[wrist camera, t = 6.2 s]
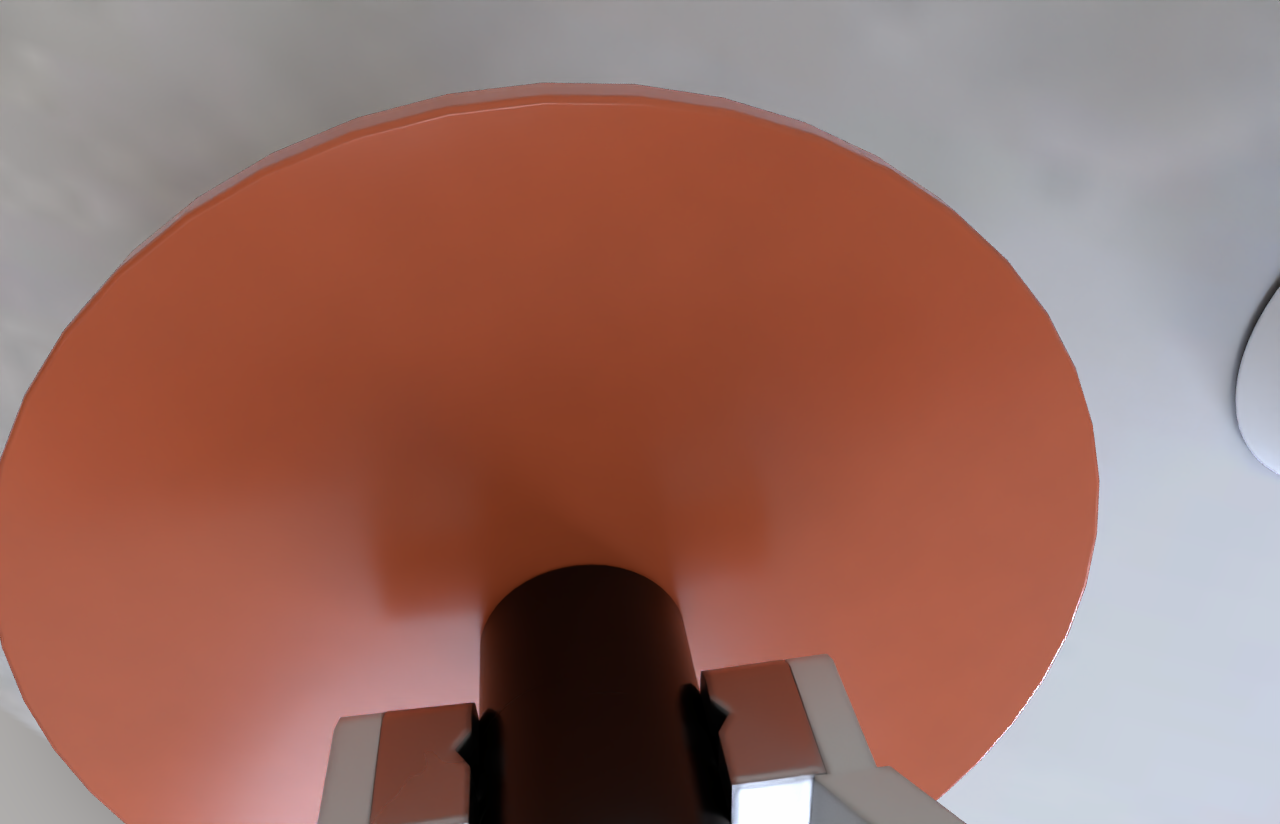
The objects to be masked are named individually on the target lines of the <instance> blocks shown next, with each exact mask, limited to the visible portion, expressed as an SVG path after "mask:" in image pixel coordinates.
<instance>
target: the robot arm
mask: <svg viewBox="0 0 1280 824" xmlns="http://www.w3.org/2000/svg"><path fill="white" fill-rule="evenodd" d="M1235 404H1236V415H1237V421H1238V425H1239V429H1240V432H1241V435H1242V437H1243V439H1244V441H1245V443H1246V445H1247V447H1248V448H1249V450H1250V451H1251V453H1252V454H1253V455H1254V456H1255V457H1256V459H1257V460H1259V461H1260V462H1261V463H1262V464H1263V465H1264V466H1266V467H1267V468H1268V469H1270V470H1271V471H1273V472H1275V473H1277V474H1279V475H1280V287H1279V288H1278V289H1277V291H1276V292H1275V294H1274V295H1273V297H1272V298H1271V300H1270V301H1269V303H1268V304H1267V306H1266V308H1265V309H1264V311H1263V313H1262V314H1261V316H1260V318H1259V320H1258V322H1257V324H1256V326H1255V328H1254V330H1253V332H1252V334H1251V336H1250V339H1249V341H1248V343H1247V346H1246V349H1245V352H1244V354H1243V357H1242V361H1241V364H1240V368H1239V373H1238V378H1237V385H1236V398H1235ZM700 695H701V699H702V703H703V708H704V712H705V716H706V720H707V725H708V729H709V733H710V737H711V741H712V745H713V749H714V753H715V757H716V762H717V766H718V771H719V776H720V780H721V784H722V788H723V792H724V797H725V801H726V805H727V809H728V814H729V818H730V822H731V824H966V823H965V822H963V821H962V820H961V819H959V818H958V817H957V816H955V815H954V814H953V813H951V812H950V811H949V810H947V809H946V808H945V807H944V806H942V805H941V804H940V803H938V802H937V801H936V800H934V799H933V798H932V797H930V796H929V795H928V794H926V793H925V792H924V791H922V790H921V789H920V788H919V787H917V786H916V785H915V784H913V783H912V782H911V781H909V780H908V779H907V778H905V777H904V776H903V775H901V774H900V773H899V772H897V771H896V770H895V769H893V768H892V767H891V766H883V767H877V766H876V763H875V761H874V758H873V756H872V754H871V751H870V749H869V746H868V744H867V741H866V739H865V736H864V734H863V732H862V729H861V727H860V724H859V722H858V719H857V717H856V714H855V712H854V710H853V707H852V705H851V702H850V700H849V697H848V695H847V693H846V690H845V688H844V685H843V683H842V680H841V678H840V675H839V673H838V671H837V668H836V666H835V663H834V661H833V659H832V658H831V657H830V656H829V655H828V654H820V655H813V656H806V657H798V658H791V659H786V660H785V661H784V660H782V659H781V660H774V661H767V662H760V663H753V664H746V665H739V666H732V667H725V668H719V669H712V670H705V671H701V676H700ZM478 770H479V717H478V713H477V708H476V704H475V703H473V702H471V703H461V704H452V705H442V706H433V707H424V708H414V709H405V710H395V711H386V712H383V713H374V714H365V715H356V716H347V717H340V719H339V721H338V723H337V725H336V727H335V729H334V732H333V738H332V743H331V749H330V755H329V760H328V766H327V772H326V777H325V783H324V788H323V794H322V800H321V805H320V811H319V817H318V822H317V824H478V800H477V798H478Z"/></svg>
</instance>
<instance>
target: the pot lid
mask: <svg viewBox="0 0 1280 824" xmlns="http://www.w3.org/2000/svg"><path fill="white" fill-rule="evenodd" d="M1098 499H1099V473H1098V465H1097V457H1096V449H1095V440H1094V432H1093V425H1092V421H1091V417H1090V414H1089V411H1088V407H1087V404H1086V401H1085V398H1084V394H1083V391H1082V388H1081V384H1080V381H1079V378H1078V375H1077V371H1076V368H1075V366H1074V364H1073V362H1072V360H1071V358H1070V356H1069V354H1068V352H1067V350H1066V348H1065V346H1064V344H1063V342H1062V340H1061V339H1060V337H1059V335H1058V333H1057V331H1056V329H1055V327H1054V325H1053V323H1052V321H1051V319H1050V317H1049V315H1048V313H1047V312H1046V310H1045V309H1044V308H1043V306H1042V305H1041V304H1040V303H1039V301H1038V300H1037V299H1036V297H1035V296H1034V295H1033V293H1032V292H1031V291H1030V289H1029V288H1028V287H1027V285H1026V284H1025V283H1024V281H1023V280H1022V279H1021V277H1020V276H1019V275H1018V274H1017V272H1016V271H1015V270H1014V268H1013V267H1012V266H1011V264H1010V263H1009V262H1008V260H1007V259H1005V258H1004V257H1003V256H1002V255H1001V254H1000V253H999V252H998V251H997V250H996V249H995V248H994V247H993V246H992V245H991V244H989V243H988V242H987V241H986V240H985V239H984V238H983V237H982V236H981V235H980V234H979V233H978V232H977V231H976V230H974V229H973V228H972V227H971V226H970V225H969V224H968V223H967V222H966V221H965V220H964V219H963V218H962V217H961V216H959V215H958V214H957V213H956V212H955V211H954V210H953V209H952V208H950V207H949V206H948V205H947V204H946V203H945V202H943V201H942V200H941V199H940V198H939V197H937V196H936V195H934V194H933V193H931V192H930V191H928V190H927V189H925V188H924V187H922V186H921V185H919V184H918V183H916V182H915V181H913V180H912V179H910V178H909V177H907V176H906V175H904V174H903V173H901V172H900V171H898V170H897V169H895V168H894V167H892V166H891V165H890V164H888V163H887V162H885V161H884V160H882V159H881V158H879V157H878V156H876V155H874V154H871V153H869V152H867V151H865V150H863V149H861V148H859V147H857V146H854V145H852V144H850V143H848V142H846V141H844V140H842V139H839V138H837V137H835V136H833V135H831V134H829V133H827V132H824V131H822V130H820V129H818V128H816V127H814V126H812V125H809V124H807V123H805V122H802V121H799V120H796V119H792V118H789V117H786V116H782V115H779V114H776V113H772V112H769V111H766V110H762V109H759V108H756V107H752V106H749V105H746V104H742V103H739V102H736V101H732V100H729V99H726V98H722V97H715V96H709V95H702V94H696V93H689V92H682V91H676V90H669V89H663V88H656V87H650V86H643V85H636V84H591V83H535V84H527V85H519V86H511V87H502V88H494V89H486V90H477V91H469V92H461V93H453V94H446V95H442V96H439V97H435V98H431V99H427V100H423V101H419V102H416V103H412V104H408V105H404V106H400V107H396V108H393V109H389V110H385V111H381V112H377V113H373V114H370V115H366V116H362V117H358V118H355V119H353V120H351V121H348V122H346V123H343V124H341V125H339V126H336V127H334V128H331V129H329V130H327V131H324V132H322V133H319V134H317V135H314V136H312V137H310V138H307V139H305V140H302V141H300V142H298V143H295V144H293V145H290V146H288V147H286V148H283V149H281V150H278V151H276V152H274V153H272V154H270V155H268V156H267V157H265V158H263V159H262V160H260V161H258V162H256V163H255V164H253V165H251V166H250V167H248V168H246V169H245V170H243V171H241V172H240V173H238V174H236V175H235V176H233V177H231V178H230V179H228V180H226V181H225V182H223V183H221V184H220V185H218V186H216V187H215V188H213V189H211V190H210V191H208V192H206V193H205V194H203V195H201V196H199V197H198V198H196V199H195V200H194V201H193V202H191V203H190V204H189V205H188V206H187V207H185V208H184V209H183V210H182V211H181V212H179V213H178V214H177V215H176V216H174V217H173V218H172V219H171V220H170V221H168V222H167V223H166V224H165V225H164V226H162V227H161V228H160V229H159V230H157V231H156V232H155V233H154V234H153V235H151V236H150V237H149V238H148V239H147V240H145V241H144V242H143V243H142V244H141V245H139V246H138V247H137V248H136V249H134V250H133V251H132V252H131V253H130V254H129V256H128V257H127V258H126V259H125V260H124V261H123V262H122V264H121V265H120V266H119V267H118V268H117V269H116V270H115V272H114V273H113V274H112V275H111V276H110V277H109V278H108V280H107V281H106V282H105V283H104V284H103V285H102V286H101V287H100V289H99V290H98V291H97V292H96V293H95V294H94V295H93V297H92V298H91V299H90V300H89V301H88V302H87V303H86V305H85V306H84V307H83V308H82V309H81V310H80V311H79V313H78V314H77V315H76V316H75V317H74V319H73V320H72V321H71V322H70V323H69V325H68V326H67V327H66V328H65V329H64V331H63V332H62V334H61V336H60V337H59V339H58V341H57V342H56V344H55V346H54V347H53V349H52V350H51V352H50V354H49V355H48V357H47V359H46V360H45V362H44V364H43V365H42V367H41V369H40V370H39V372H38V373H37V375H36V377H35V378H34V380H33V382H32V383H31V385H30V387H29V388H28V390H27V391H26V393H25V395H24V398H23V400H22V403H21V406H20V408H19V411H18V413H17V416H16V419H15V421H14V424H13V427H12V429H11V432H10V434H9V437H8V440H7V442H6V445H5V448H4V450H3V453H2V455H1V458H0V640H1V645H2V648H3V651H4V653H5V656H6V658H7V661H8V663H9V666H10V668H11V671H12V673H13V675H14V678H15V680H16V683H17V685H18V688H19V690H20V693H21V695H22V698H23V700H24V702H25V704H26V705H27V707H28V708H29V710H30V712H31V713H32V715H33V717H34V718H35V720H36V721H37V723H38V725H39V726H40V728H41V729H42V731H43V733H44V734H45V736H46V738H47V739H48V741H49V742H50V744H51V746H52V747H53V749H54V750H55V751H56V753H57V754H58V755H59V756H60V757H61V758H62V760H63V761H64V762H65V763H66V764H67V765H68V767H69V768H70V769H71V770H72V771H73V773H74V774H75V775H76V776H77V777H78V778H79V780H80V781H81V782H82V783H83V784H84V786H85V787H86V788H87V789H88V790H89V791H90V792H91V793H92V794H93V795H94V796H95V797H96V798H97V799H98V800H99V801H101V802H102V803H103V804H104V805H105V806H106V807H107V808H108V809H109V810H111V811H112V812H113V813H114V814H115V815H116V816H117V817H118V818H120V819H121V820H122V821H123V822H124V823H125V824H317V822H318V817H319V811H320V805H321V800H322V794H323V788H324V783H325V777H326V772H327V766H328V760H329V755H330V749H331V743H332V738H333V732H334V729H335V727H336V725H337V723H338V721H339V719H340V717H347V716H356V715H365V714H374V713H383V712H386V711H395V710H405V709H414V708H424V707H433V706H442V705H452V704H461V703H471V702H473V703H475V704H476V708H477V713H478V717H479V770H478V798H477V800H478V824H731V822H730V818H729V814H728V809H727V805H726V801H725V797H724V792H723V788H722V784H721V780H720V776H719V771H718V766H717V762H716V757H715V753H714V749H713V745H712V741H711V737H710V733H709V729H708V725H707V720H706V716H705V712H704V708H703V703H702V699H701V695H700V676H701V671H705V670H712V669H719V668H725V667H732V666H739V665H746V664H753V663H760V662H767V661H774V660H781V659H782V660H784V661H785V660H786V659H791V658H798V657H806V656H813V655H820V654H828V655H829V656H830V657H831V658H832V659H833V661H834V663H835V666H836V668H837V671H838V673H839V675H840V678H841V680H842V683H843V685H844V688H845V690H846V693H847V695H848V697H849V700H850V702H851V705H852V707H853V710H854V712H855V714H856V717H857V719H858V722H859V724H860V727H861V729H862V732H863V734H864V736H865V739H866V741H867V744H868V746H869V749H870V751H871V754H872V756H873V758H874V761H875V763H876V766H877V767H883V766H891V767H892V768H893V769H895V770H896V771H897V772H899V773H900V774H901V775H903V776H904V777H905V778H907V779H908V780H909V781H911V782H912V783H913V784H915V785H916V786H917V787H919V788H920V789H921V790H922V791H924V792H925V793H926V794H928V795H929V796H930V797H932V798H933V799H934V800H938V799H939V798H940V797H942V796H943V795H944V794H945V793H946V792H947V791H948V790H949V789H950V788H952V787H953V786H954V785H955V784H956V783H957V782H958V781H959V780H960V779H961V778H962V777H963V776H964V775H966V774H967V773H968V772H969V771H970V770H971V769H972V768H973V767H974V766H975V765H976V764H977V763H979V762H980V761H981V760H982V758H983V757H984V756H985V755H986V754H987V753H988V752H989V750H990V749H991V748H992V747H993V746H994V745H995V744H996V742H997V741H998V740H999V739H1000V738H1001V737H1002V736H1003V734H1004V733H1005V732H1006V731H1007V730H1008V729H1009V728H1010V727H1011V725H1012V724H1013V723H1014V722H1015V721H1016V719H1017V718H1018V716H1019V715H1020V713H1021V712H1022V711H1023V709H1024V708H1025V706H1026V705H1027V703H1028V702H1029V700H1030V699H1031V698H1032V696H1033V695H1034V693H1035V692H1036V690H1037V689H1038V688H1039V686H1040V685H1041V683H1042V682H1043V680H1044V679H1045V677H1046V675H1047V673H1048V671H1049V669H1050V667H1051V666H1052V664H1053V662H1054V660H1055V658H1056V656H1057V654H1058V652H1059V650H1060V649H1061V647H1062V645H1063V643H1064V641H1065V639H1066V637H1067V635H1068V633H1069V631H1070V628H1071V625H1072V622H1073V620H1074V617H1075V614H1076V611H1077V609H1078V606H1079V603H1080V601H1081V598H1082V595H1083V592H1084V590H1085V587H1086V584H1087V579H1088V574H1089V569H1090V564H1091V560H1092V555H1093V550H1094V545H1095V540H1096V536H1097V520H1098Z"/></svg>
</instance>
